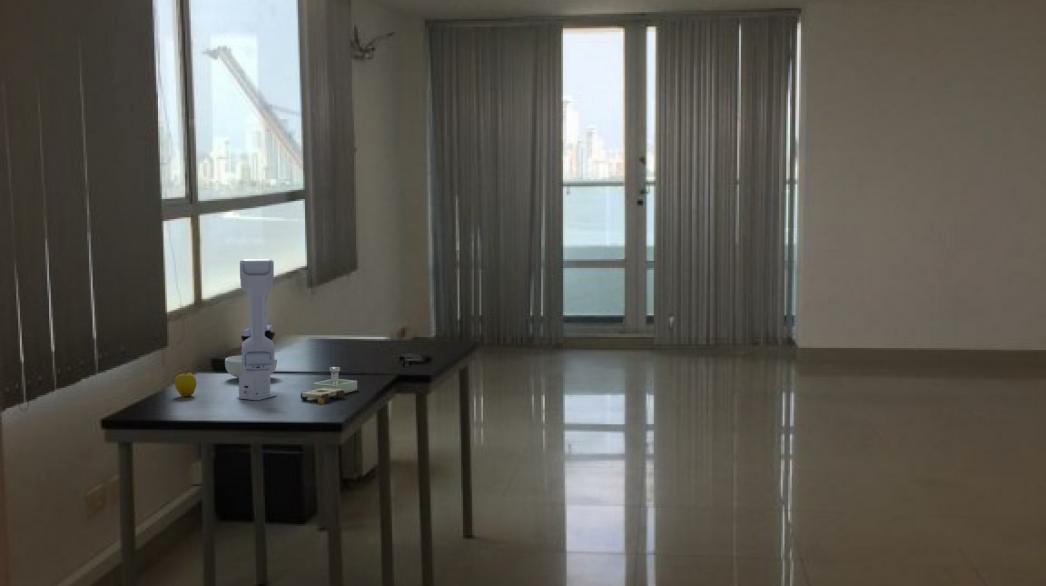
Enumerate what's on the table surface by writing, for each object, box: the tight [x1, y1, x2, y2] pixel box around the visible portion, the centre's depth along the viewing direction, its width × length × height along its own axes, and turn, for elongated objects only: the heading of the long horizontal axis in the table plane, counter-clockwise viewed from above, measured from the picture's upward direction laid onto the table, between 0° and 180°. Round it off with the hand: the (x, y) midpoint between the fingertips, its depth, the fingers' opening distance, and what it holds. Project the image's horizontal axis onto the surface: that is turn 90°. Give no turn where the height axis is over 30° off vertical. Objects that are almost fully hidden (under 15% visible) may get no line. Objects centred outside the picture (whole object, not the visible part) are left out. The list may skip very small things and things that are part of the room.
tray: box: [312, 378, 358, 394], centre depth 371 cm, size 11×9×3 cm
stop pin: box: [329, 366, 341, 385], centre depth 371 cm, size 3×3×7 cm
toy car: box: [300, 388, 346, 405], centre depth 357 cm, size 12×9×3 cm
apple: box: [174, 370, 197, 398], centre depth 360 cm, size 6×6×8 cm
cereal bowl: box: [224, 354, 278, 379], centre depth 394 cm, size 17×17×7 cm
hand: (258, 356), depth 375 cm, fingers open, 7 cm apart
